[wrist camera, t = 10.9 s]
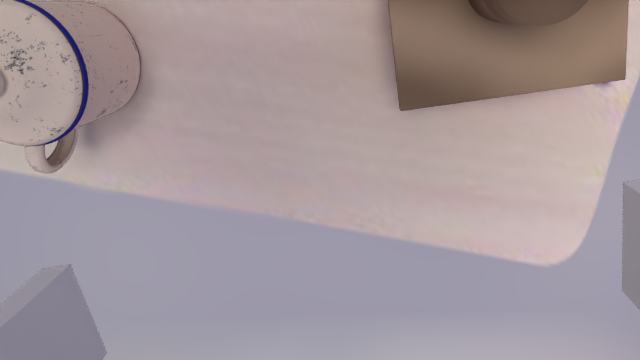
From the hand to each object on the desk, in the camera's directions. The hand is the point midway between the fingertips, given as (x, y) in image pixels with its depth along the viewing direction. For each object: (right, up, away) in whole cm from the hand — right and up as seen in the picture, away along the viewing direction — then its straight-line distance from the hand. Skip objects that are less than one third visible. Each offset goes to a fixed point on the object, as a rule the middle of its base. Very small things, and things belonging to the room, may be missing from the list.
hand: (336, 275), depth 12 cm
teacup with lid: (-19, +10, +27) cm, 34 cm away
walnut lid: (+10, +14, +17) cm, 24 cm away
